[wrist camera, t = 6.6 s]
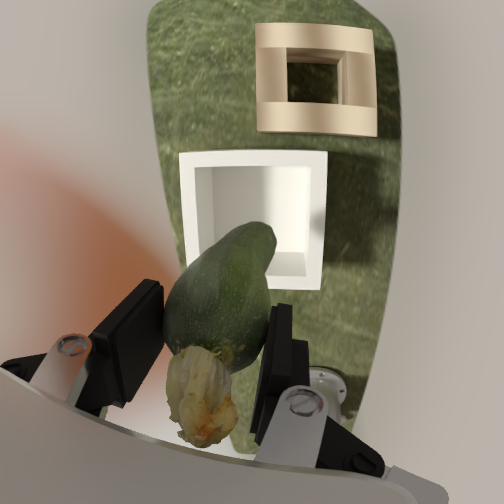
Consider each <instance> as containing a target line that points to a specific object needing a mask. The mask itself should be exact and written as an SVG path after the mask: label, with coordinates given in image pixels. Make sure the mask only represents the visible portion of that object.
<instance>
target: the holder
mask: <svg viewBox="0 0 504 504" xmlns="http://www.w3.org/2000/svg"><path fill="white" fill-rule="evenodd" d="M255 33H256V92H257V132H260V133H287V134H318V135H336V136H350V137H362V138H364V137H377V93H376V71H375V57H374V45H373V34H372V30H369V29H362V28H355V27H346V26H337V25H325V24H309V23H255ZM287 62H295V63H320V64H334V65H337V78H338V104H325V103H304V102H287Z"/></svg>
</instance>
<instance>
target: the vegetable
mask: <svg viewBox="0 0 504 504" xmlns="http://www.w3.org/2000/svg"><path fill="white" fill-rule="evenodd" d="M276 245H277V239H276V236H275V234H274V232H273V229H272V227H271V226H270V225H267V224H265V223H263V222H259V221H252V222H248V223H246V224H243V225H240V226H238V227H236V228H234V229H233V230H231V231H230V232H228V233H227V234H226V235H225V236H224V237H223V238H221V239H220V240H219V241H218V242H217V243H216V244H214V245H213V246H211V247H209V248H208V249H207V250H205V251H204V252H203V253H202V254H201V255H200V256H199V257H198V258H197V259H196V260H194V261H193V262H192V263H191V264H190V265H189V266H188V267H187V268H186V269H185V271H184V272H183V273H182V274H181V276H180V277H179V278H178V280H177V281H176V282H175V284H174V286H173V288H172V290H171V292H170V293H169V296H168V299H167V301H166V304H165V307H164V315H163V327H162V330H163V337H164V340H165V343H166V344H167V346H168V347H169V349H170V350H171V352H172V353H173V355H174V356H173V357H172V359H171V360H170V363H169V367H168V373H167V382H166V394H167V397H168V401H167V402H168V404H169V406H170V408H171V416H170V419H171V420H172V421H173V422H175V423H176V422H178V423H179V425H180V426H181V428H182V429H183V430H182V431H178V432H177V433H178V436H179V437H180V438H183V440H185V442H189V443H191V444H192V445H194V446H195V447H197V448H207V447H209V446H211V445H212V444H218V443H220V442H221V440H222V439H223V438H225V437H227V435H228V434H229V433H230V432H231V431H232V430H233V429H234V427H235V425H236V423H237V421H238V419H239V418H238V416H237V408H236V406H235V404H234V403H233V401H232V400H231V394H230V393H231V390H230V389H231V384H232V380H231V376H230V375H231V374H233V373H235V372H238V371H240V370H242V369H244V368H246V367H247V366H249V365H251V364H252V363H253V362H254V361H255V360H256V358H257V356H258V355H259V353H260V351H261V349H262V347H263V345H264V343H265V341H266V336H267V330H268V324H269V318H270V313H271V302H270V296H269V290H268V284H267V279H266V276H265V272H266V271H267V269H268V267H269V265H270V262H271V261H272V258H273V256H274V254H275V249H276Z"/></svg>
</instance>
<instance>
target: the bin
mask: <svg viewBox="0 0 504 504" xmlns="http://www.w3.org/2000/svg"><path fill="white" fill-rule="evenodd" d="M179 163H180V183H181V199H182V213H183V226H184V238H185V249H186V260H187V267H188V266H189V265H190V264H191V263H192V262H193V261H194V260H196V259H197V258H198V257H199V256H200V255H201V254H202V253H203V252H204V251H205V250H207V249H208V248H209V247H211V246H213V245H214V244H216V243H217V242H218V241H219V240H220V239H221V238H223V237H224V236H225V235H226V234H227V233H228V232H230V231H231V230H233V229H234V228H236V227H238V226H240V225H243V224H246V223H248V222H252V221H259V222H263V223H265V224H267V225H270V226H271V227H272V229H273V232H274V234H275V236H276V239H277V245H276V249H275V254H274V256H273V258H272V261H271V262H270V265H269V267H268V269H267V271H266V272H265V276H266V279H267V284H268V289H298V290H320V284H321V272H322V260H323V246H324V231H325V213H326V190H327V151H322V150H311V149H219V150H200V151H191V152H183V153H179Z"/></svg>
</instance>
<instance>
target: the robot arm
mask: <svg viewBox="0 0 504 504" xmlns="http://www.w3.org/2000/svg"><path fill="white" fill-rule="evenodd" d="M163 315H164V288H163V286H161V285H160V283H159V281H155V280H150V279H144V280H143V281H142V282H141V283H140V284H139V285H138V286H137V287H136V288H135V289H134V290H133V291H132V292H131V293H130V294H129V295H128V296H127V297H126V298H125V299H124V300H123V301H122V302H121V303H120V304H119V305H118V306H117V307H116V308H115V309H114V310H113V311H112V312H111V313H110V314H109V315H108V316H107V317H106V318H105V319H104V320H103V321H102V322H101V323H100V324H99V325H98V326H97V327H96V328H95V329H94V330H93V332H92V333H91V334H90V335H89V336H88V337H87V336H85V335H83V334H77V333H71V334H66V335H63V336H62V337H60V338H59V339H58V340H56V342H55V343H54V345H53V346H52V347H51V349H50V350H49V352H48V353H44V354H39V355H33V356H27V357H21V358H15V359H11V360H8V361H6V362H4V363H3V364H2V365H1V366H0V504H448V501H449V497H448V493H447V492H446V490H445V489H444V488H443V487H442V486H440V485H438V484H436V483H433V482H431V481H428V480H426V479H423V478H421V477H419V476H416V475H414V474H412V473H409V472H407V471H405V470H403V469H400V468H398V467H396V466H393V467H392V468H390V467H388V466H386V465H385V463H384V460H383V458H382V457H381V455H379V454H378V453H377V452H376V451H375V450H373V449H372V448H370V447H369V446H368V445H367V444H365V443H364V442H362V441H361V440H360V439H358V438H357V437H356V436H354V435H353V434H352V433H350V432H349V431H348V430H346V429H345V428H344V427H342V423H344V422H345V421H346V419H347V418H346V417H345V416H344V415H342V414H341V409H340V405H341V404H342V403H343V401H344V400H345V397H346V393H347V389H346V384H345V381H344V380H343V378H342V377H341V376H340V375H339V374H338V373H336V372H334V371H332V370H329V369H326V368H321V367H309V351H308V341H304V340H297V339H292V305H288V304H282V303H278V305H277V306H272V308H271V313H270V318H269V324H268V330H267V336H266V341H265V345H264V350H263V355H262V361H261V366H260V373H259V379H258V385H257V391H256V398H255V404H254V410H253V416H252V422H251V428H250V433H256V434H255V441H254V442H256V443H257V444H258V445H259V446H260V448H259V450H258V452H257V454H256V457H255V459H254V461H251V460H244V459H239V458H233V457H228V456H223V455H218V454H213V453H209V452H204V451H200V450H195V449H192V448H188V447H184V446H180V445H176V444H173V443H169V442H166V441H163V440H159V439H156V438H153V437H150V436H146V435H144V434H141V433H138V432H135V431H132V430H129V429H127V428H124V427H121V426H118V425H116V424H113V423H111V422H108V421H106V420H105V417H106V413H107V411H108V406H109V405H114V406H117V407H120V408H123V407H124V405H125V404H126V402H131V401H132V399H133V398H134V396H135V394H136V392H137V390H138V389H139V387H140V385H141V384H142V382H143V380H144V379H145V377H146V375H147V374H148V372H149V370H150V369H151V367H152V365H153V364H154V362H155V360H156V358H157V357H158V355H159V354H160V352H161V350H162V348H163V346H164V343H165V340H164V337H163V330H162V327H163Z"/></svg>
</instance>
